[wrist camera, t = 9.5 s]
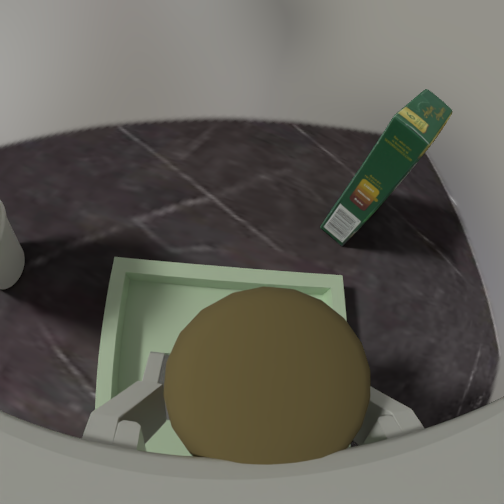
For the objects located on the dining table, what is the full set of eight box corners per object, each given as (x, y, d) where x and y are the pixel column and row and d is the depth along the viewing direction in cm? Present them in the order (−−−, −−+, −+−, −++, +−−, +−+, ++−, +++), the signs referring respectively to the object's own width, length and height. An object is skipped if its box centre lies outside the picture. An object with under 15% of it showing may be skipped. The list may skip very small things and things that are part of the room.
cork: (306, 391, 16) (444, 374, 6) (228, 461, 13) (276, 560, 3) (236, 316, 17) (288, 204, 7) (154, 381, 15) (75, 359, 5)
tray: (106, 484, 13) (97, 492, 12) (121, 269, 21) (114, 256, 19) (335, 487, 16) (348, 494, 14) (330, 285, 23) (342, 275, 21)
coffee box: (340, 252, 24) (434, 143, 13) (315, 229, 25) (393, 109, 14) (381, 204, 28) (456, 110, 16) (360, 185, 29) (426, 86, 17)
